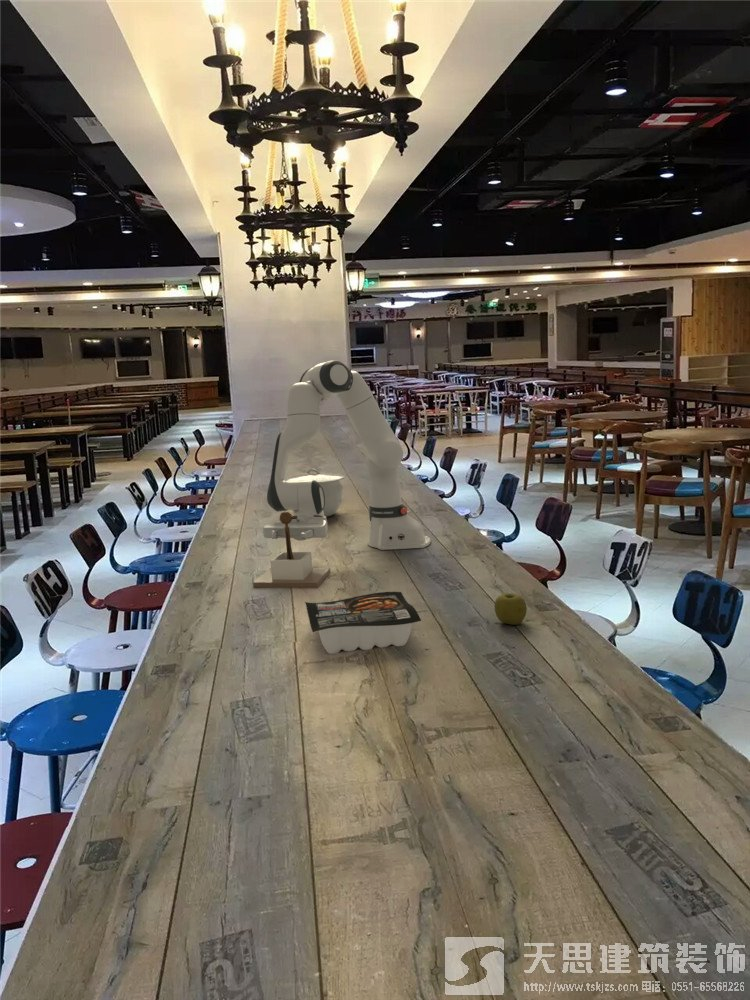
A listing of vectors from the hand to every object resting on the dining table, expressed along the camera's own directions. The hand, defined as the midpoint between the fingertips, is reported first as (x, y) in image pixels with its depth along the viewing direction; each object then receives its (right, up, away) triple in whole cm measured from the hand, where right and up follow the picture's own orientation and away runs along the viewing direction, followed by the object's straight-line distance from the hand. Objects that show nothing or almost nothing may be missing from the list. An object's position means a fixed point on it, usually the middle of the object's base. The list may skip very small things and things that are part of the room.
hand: (288, 536), depth 236 cm
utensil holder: (+1, -14, +3) cm, 14 cm away
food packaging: (+23, -23, -48) cm, 58 cm away
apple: (+60, -20, -44) cm, 77 cm away
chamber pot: (+1, +4, +99) cm, 99 cm away
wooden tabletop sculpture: (+1, -12, +3) cm, 13 cm away
